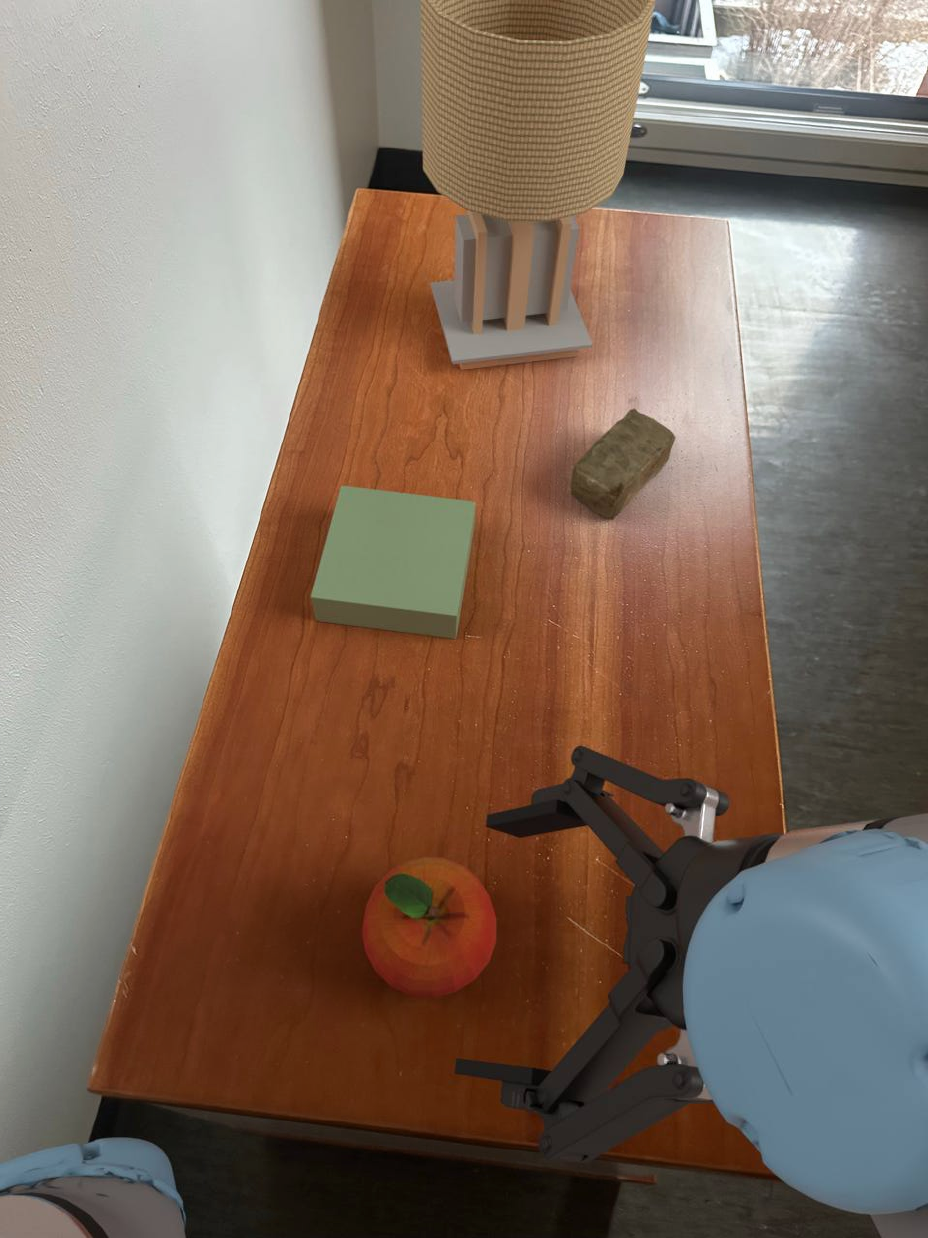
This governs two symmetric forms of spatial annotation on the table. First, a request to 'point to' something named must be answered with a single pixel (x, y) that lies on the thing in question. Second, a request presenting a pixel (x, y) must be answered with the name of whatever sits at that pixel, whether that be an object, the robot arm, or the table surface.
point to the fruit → (429, 927)
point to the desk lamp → (524, 158)
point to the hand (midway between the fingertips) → (489, 940)
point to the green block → (395, 562)
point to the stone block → (621, 463)
